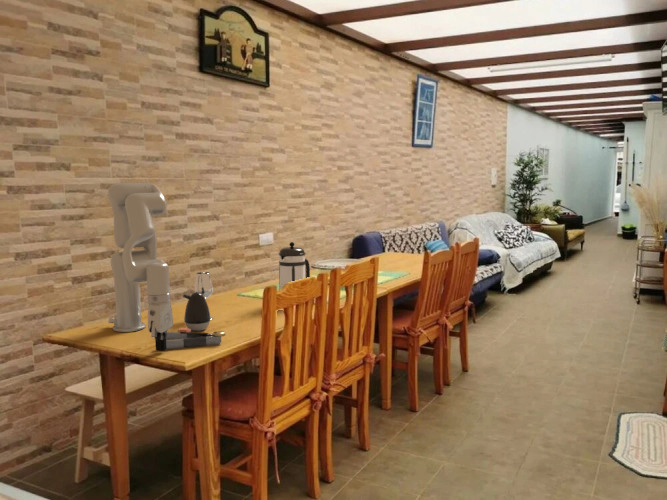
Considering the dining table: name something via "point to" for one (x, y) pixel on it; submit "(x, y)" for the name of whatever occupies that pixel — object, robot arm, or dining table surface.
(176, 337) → the tongs fixed arm
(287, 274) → the coffee press
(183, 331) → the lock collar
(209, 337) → the tongs moving arm
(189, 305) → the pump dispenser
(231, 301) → the dining table surface
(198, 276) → the wineglass
